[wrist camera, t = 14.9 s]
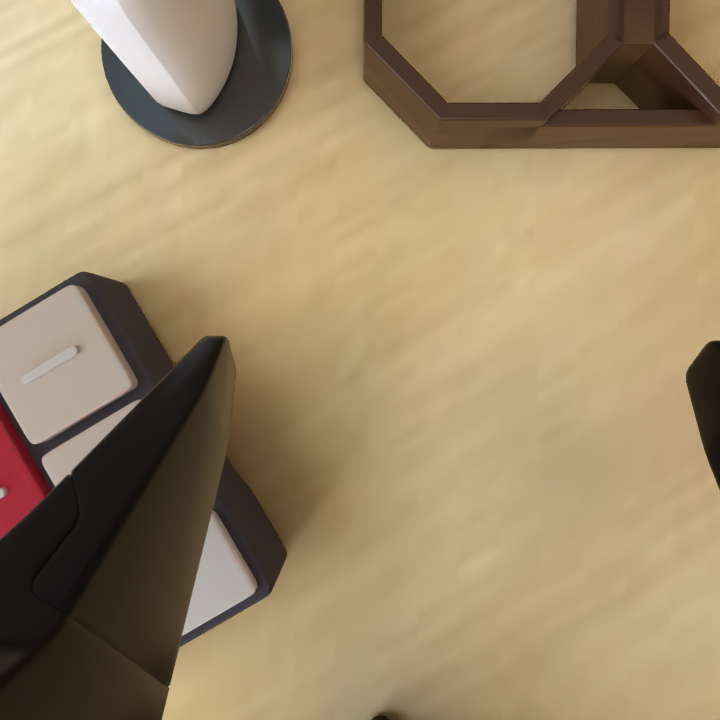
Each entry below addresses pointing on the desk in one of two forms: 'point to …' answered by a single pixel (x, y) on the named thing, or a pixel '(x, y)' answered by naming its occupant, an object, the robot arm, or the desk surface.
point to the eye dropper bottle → (170, 45)
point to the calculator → (99, 416)
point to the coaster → (239, 94)
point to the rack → (567, 89)
